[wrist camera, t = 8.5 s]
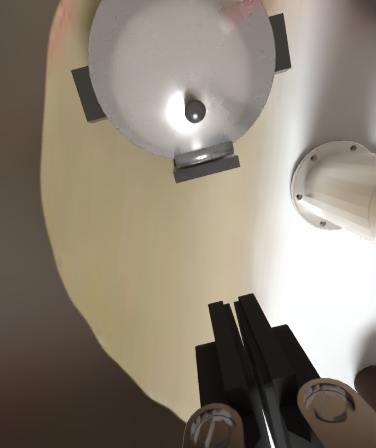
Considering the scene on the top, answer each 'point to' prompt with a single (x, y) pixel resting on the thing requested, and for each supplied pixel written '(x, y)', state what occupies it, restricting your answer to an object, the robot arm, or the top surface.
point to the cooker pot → (202, 168)
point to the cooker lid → (182, 72)
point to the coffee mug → (367, 385)
